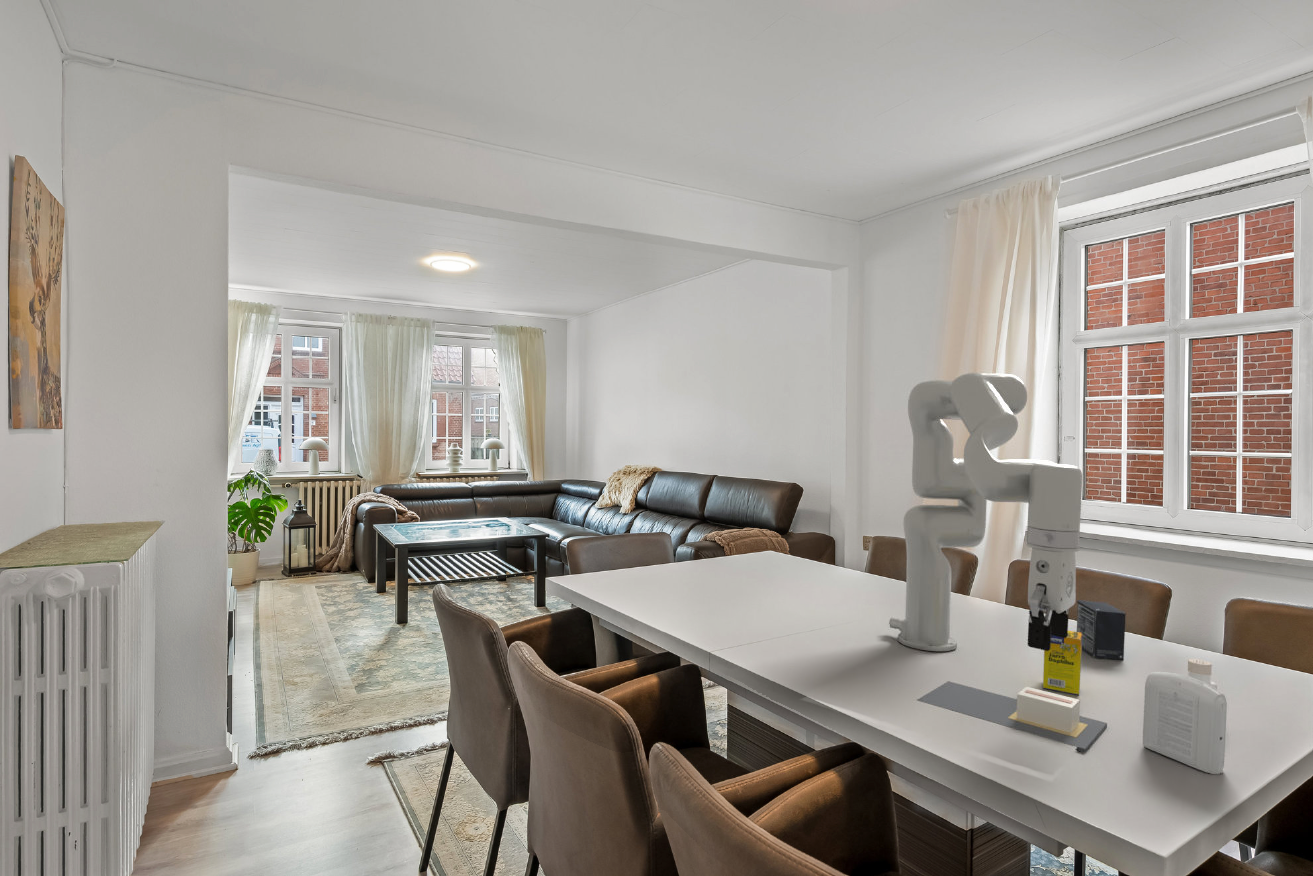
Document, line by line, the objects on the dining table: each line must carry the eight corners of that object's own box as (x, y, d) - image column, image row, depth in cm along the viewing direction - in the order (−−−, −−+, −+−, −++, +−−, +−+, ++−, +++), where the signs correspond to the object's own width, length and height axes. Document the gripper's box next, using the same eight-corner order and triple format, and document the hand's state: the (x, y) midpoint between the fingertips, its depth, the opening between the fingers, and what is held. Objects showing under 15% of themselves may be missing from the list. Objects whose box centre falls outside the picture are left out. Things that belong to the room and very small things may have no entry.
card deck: (1071, 733, 111) (1071, 707, 111) (1016, 718, 116) (1017, 693, 116) (1079, 724, 115) (1079, 699, 115) (1025, 710, 120) (1026, 686, 120)
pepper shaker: (1203, 723, 118) (1205, 666, 118) (1178, 714, 122) (1180, 659, 122) (1218, 719, 120) (1219, 664, 120) (1192, 711, 123) (1194, 657, 123)
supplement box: (1079, 699, 128) (1081, 639, 128) (1042, 692, 131) (1044, 633, 131) (1080, 689, 133) (1082, 632, 133) (1044, 683, 136) (1046, 626, 136)
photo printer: (1230, 772, 101) (1233, 686, 101) (1212, 777, 99) (1215, 690, 99) (1154, 742, 110) (1157, 664, 110) (1137, 747, 108) (1139, 667, 108)
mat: (916, 703, 124) (916, 699, 124) (948, 684, 134) (948, 680, 134) (1085, 753, 106) (1085, 748, 106) (1107, 726, 116) (1107, 722, 116)
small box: (1126, 661, 151) (1128, 612, 151) (1093, 658, 152) (1094, 610, 152) (1105, 646, 162) (1107, 601, 161) (1074, 644, 163) (1075, 599, 163)
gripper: (1063, 548, 107) (1058, 660, 107) (1092, 536, 119) (1087, 636, 120) (1010, 541, 112) (1005, 647, 112) (1043, 530, 124) (1039, 626, 125)
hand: (1047, 642), depth 116 cm, fingers open, 9 cm apart
